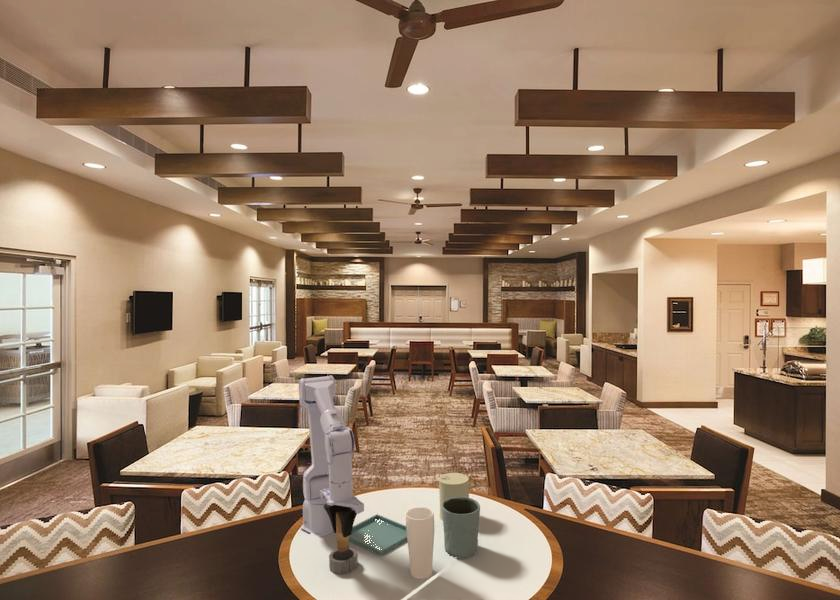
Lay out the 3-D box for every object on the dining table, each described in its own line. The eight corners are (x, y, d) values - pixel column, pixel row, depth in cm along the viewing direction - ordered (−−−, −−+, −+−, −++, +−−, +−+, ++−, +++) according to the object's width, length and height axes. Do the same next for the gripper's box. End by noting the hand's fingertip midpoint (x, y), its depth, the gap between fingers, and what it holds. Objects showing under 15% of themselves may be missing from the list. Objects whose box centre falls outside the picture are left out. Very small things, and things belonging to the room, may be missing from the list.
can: (441, 508, 152) (439, 470, 152) (470, 509, 151) (469, 471, 151) (438, 522, 143) (436, 482, 143) (469, 524, 142) (468, 483, 142)
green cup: (453, 536, 135) (452, 493, 135) (487, 545, 130) (486, 501, 130) (435, 554, 126) (434, 508, 126) (471, 564, 121) (470, 517, 121)
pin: (334, 549, 121) (333, 513, 121) (343, 544, 123) (342, 508, 123) (342, 553, 119) (341, 516, 119) (351, 548, 121) (350, 512, 121)
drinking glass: (433, 584, 114) (431, 520, 113) (404, 581, 115) (402, 518, 115) (437, 568, 120) (436, 507, 120) (410, 565, 122) (409, 506, 121)
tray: (340, 538, 136) (340, 532, 136) (377, 519, 146) (377, 514, 146) (380, 557, 125) (380, 551, 125) (417, 536, 136) (416, 530, 136)
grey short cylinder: (324, 569, 121) (323, 555, 121) (345, 557, 126) (344, 544, 126) (341, 579, 116) (341, 565, 116) (363, 566, 122) (362, 553, 121)
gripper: (309, 477, 122) (311, 530, 123) (347, 492, 113) (349, 549, 113) (332, 468, 128) (333, 520, 128) (369, 482, 118) (371, 537, 119)
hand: (342, 533), depth 121 cm, fingers closed on pin, 3 cm apart
